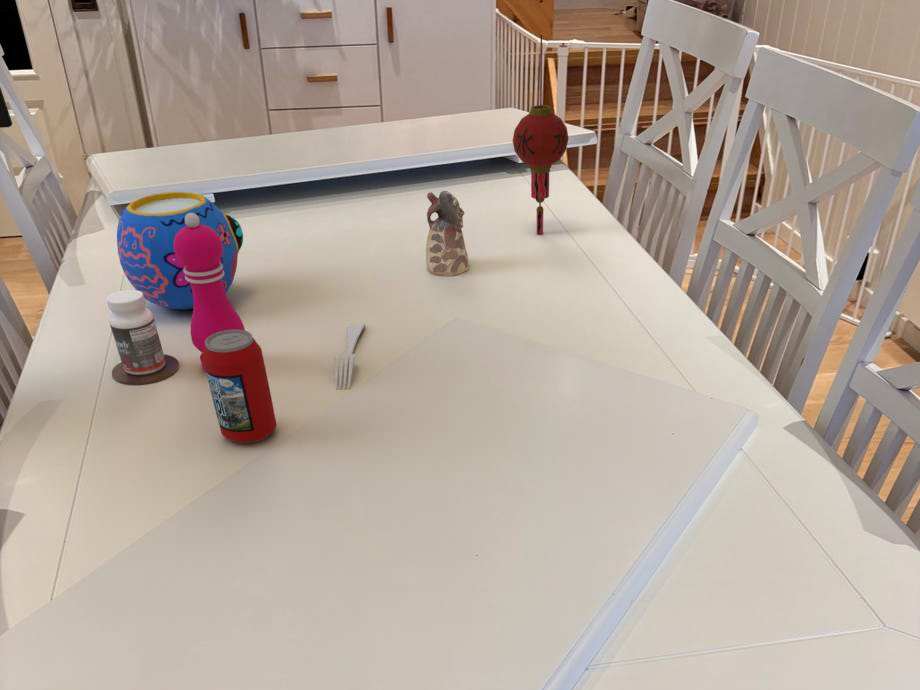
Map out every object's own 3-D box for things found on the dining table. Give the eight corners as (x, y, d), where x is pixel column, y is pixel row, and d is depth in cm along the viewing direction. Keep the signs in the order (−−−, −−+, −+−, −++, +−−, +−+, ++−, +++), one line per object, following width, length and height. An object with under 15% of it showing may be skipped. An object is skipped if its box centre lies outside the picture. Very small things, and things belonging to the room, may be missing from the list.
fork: (368, 340, 137) (366, 321, 135) (353, 389, 120) (350, 368, 118) (349, 341, 137) (347, 322, 135) (331, 389, 120) (329, 369, 118)
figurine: (469, 275, 149) (465, 196, 141) (425, 277, 149) (420, 198, 141) (469, 260, 154) (466, 183, 146) (427, 261, 155) (422, 185, 147)
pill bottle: (117, 367, 126) (95, 295, 120) (155, 355, 129) (135, 284, 122) (134, 380, 123) (112, 307, 116) (173, 367, 126) (154, 295, 119)
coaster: (105, 386, 123) (104, 384, 122) (121, 358, 129) (120, 355, 129) (172, 382, 123) (171, 380, 123) (184, 354, 130) (183, 351, 129)
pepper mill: (189, 375, 125) (149, 221, 111) (213, 352, 130) (178, 203, 117) (238, 379, 123) (203, 223, 110) (260, 356, 128) (229, 205, 115)
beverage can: (211, 434, 112) (187, 340, 104) (257, 415, 115) (237, 322, 107) (242, 453, 108) (219, 357, 100) (288, 432, 111) (270, 337, 103)
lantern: (577, 231, 163) (583, 32, 143) (542, 246, 158) (544, 42, 138) (537, 221, 168) (538, 28, 148) (502, 235, 163) (499, 36, 144)
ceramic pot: (270, 294, 146) (252, 194, 136) (186, 334, 135) (159, 228, 125) (195, 275, 153) (172, 179, 144) (110, 311, 143) (79, 210, 133)
